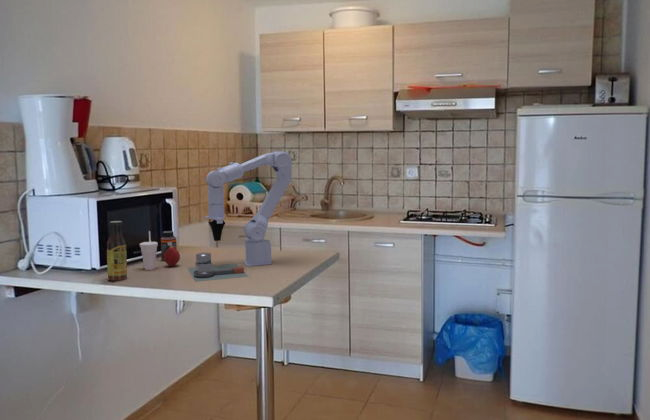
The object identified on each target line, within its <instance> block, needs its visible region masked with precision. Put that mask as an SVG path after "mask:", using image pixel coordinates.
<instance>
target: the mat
mask: <svg viewBox="0 0 650 420" xmlns="http://www.w3.org/2000/svg"><path fill="white" fill-rule="evenodd" d="M232 267H240V266H239V265H238V264H237V263H226V264H216V265H212V269H213V270H222V269H232ZM187 269H188V271H189V273H190V275H191V277H192V279H193V280H194V282H207V281H216V280H217V281H218V280H227V279H237V278H238V279H239V278H247V277H249V275H248V274H247V273H246V272H245V271H244V273H239V274H226V275H215V276H213V277H210V278H195V277H194V271H196V266H194V267H193V266H192V267H187Z"/></svg>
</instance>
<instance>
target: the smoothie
mask: <svg viewBox="0 0 650 420" xmlns="http://www.w3.org/2000/svg"><path fill="white" fill-rule="evenodd" d="M151 236H152V235H151V231H150V230H148V241H143V242H141V243H139V248H140V251H141V256H142V257H141V258H142V261H143V266H144V270H146V271H147V270H148V271H152V270H156V264H157V263H156V262H157V253H158V252H157V251H158V246H159V244H158V243H159V242H157V241H152V240H151Z"/></svg>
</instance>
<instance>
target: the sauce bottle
mask: <svg viewBox="0 0 650 420" xmlns="http://www.w3.org/2000/svg"><path fill="white" fill-rule="evenodd" d="M109 229H110V233H109V234H110V235H109V237H108V239H107V241H106V263H107V264H106V265H107V268H106V269H107V279H108V281H112V282H115V281H116V282H119V281H124V280H126V279H127V278H128V276H127V275H128V261H127V259H128V258H127V257H128V256H127V244H126V241H125V238H124V235H123V221H122V220H113V221H109Z"/></svg>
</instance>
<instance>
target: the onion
mask: <svg viewBox="0 0 650 420" xmlns="http://www.w3.org/2000/svg"><path fill="white" fill-rule="evenodd" d="M173 247H174V246H170V248H169V249H168V250H167V251H166V252H165V254H164V261H163V262H165V263H166V265H168V266H169V267H174V266H176V265H177V264H178V263H179V262H180V259H181V255H180V252H179V251H178V249H177V250H176V249H175V248H173Z"/></svg>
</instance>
